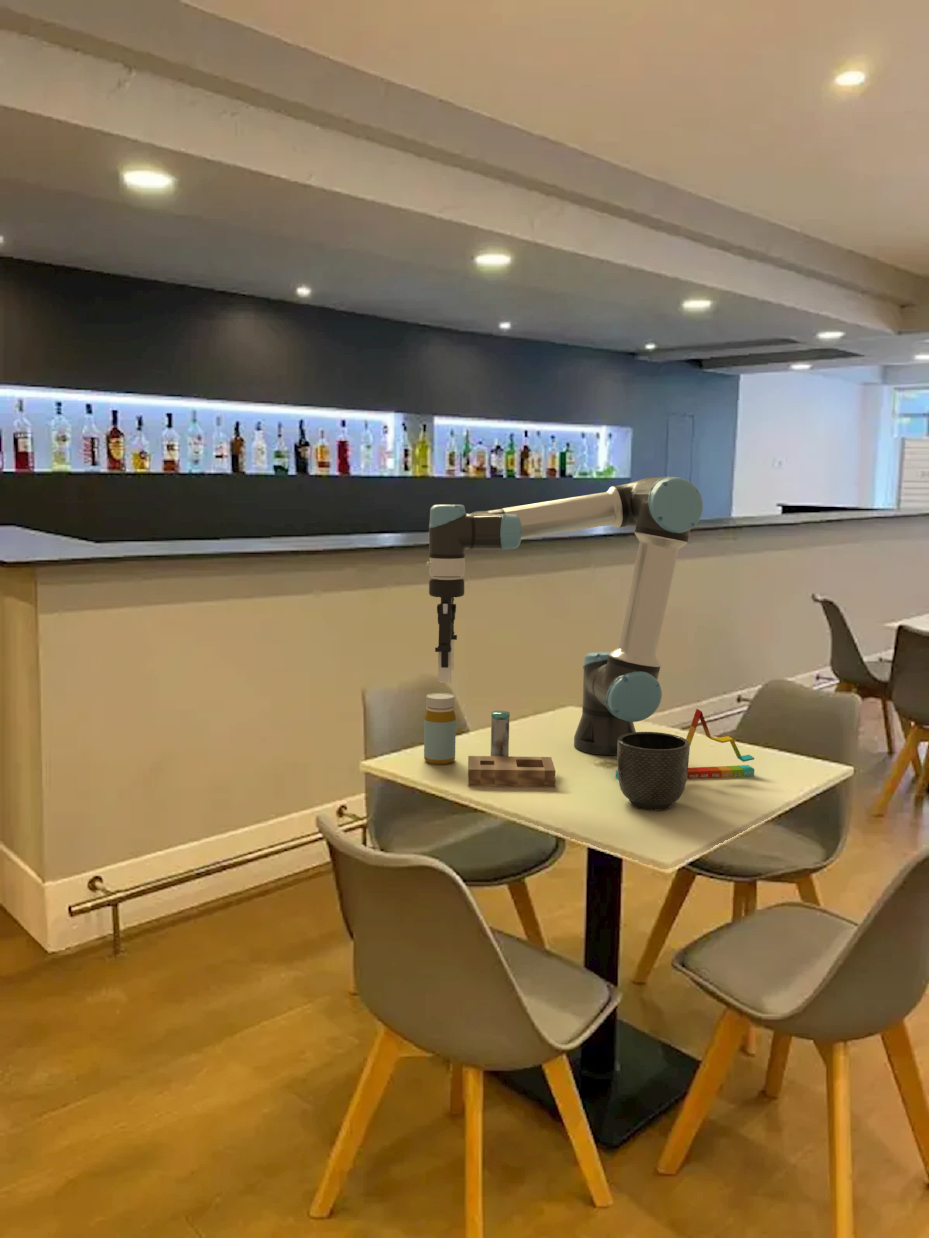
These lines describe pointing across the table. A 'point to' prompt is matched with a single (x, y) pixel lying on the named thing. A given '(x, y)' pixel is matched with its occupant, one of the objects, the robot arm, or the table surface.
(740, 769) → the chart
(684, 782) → the planter
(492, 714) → the clear spice jar
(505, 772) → the socket block
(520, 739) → the table surface
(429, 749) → the bottle
